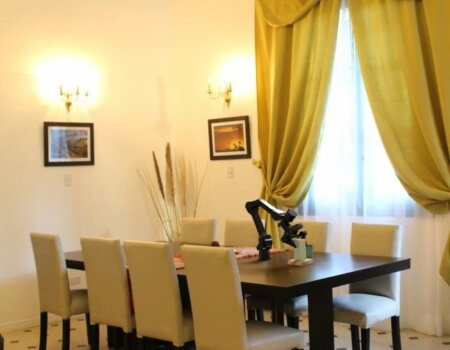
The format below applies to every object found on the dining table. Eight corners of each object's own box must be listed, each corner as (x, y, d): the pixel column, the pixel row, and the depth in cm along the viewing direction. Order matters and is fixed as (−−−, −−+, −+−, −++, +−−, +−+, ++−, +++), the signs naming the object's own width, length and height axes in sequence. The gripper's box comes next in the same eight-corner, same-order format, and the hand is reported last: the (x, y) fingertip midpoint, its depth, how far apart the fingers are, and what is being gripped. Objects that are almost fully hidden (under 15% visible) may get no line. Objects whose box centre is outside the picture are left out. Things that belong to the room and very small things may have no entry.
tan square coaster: (287, 265, 374) (287, 260, 374) (297, 262, 383) (297, 258, 383) (304, 266, 367) (304, 261, 367) (313, 263, 376) (313, 258, 376)
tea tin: (294, 259, 375) (293, 239, 375) (300, 258, 379) (299, 238, 379) (300, 260, 371) (299, 240, 371) (306, 259, 375) (305, 239, 374)
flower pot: (313, 261, 384) (313, 246, 384) (299, 261, 386) (298, 246, 386) (314, 259, 393) (313, 244, 393) (300, 259, 395) (299, 244, 395)
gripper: (283, 219, 372) (297, 239, 363) (304, 217, 384) (319, 236, 376) (274, 232, 378) (288, 252, 369) (295, 229, 390) (309, 248, 382)
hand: (301, 247), depth 374 cm, fingers open, 9 cm apart
